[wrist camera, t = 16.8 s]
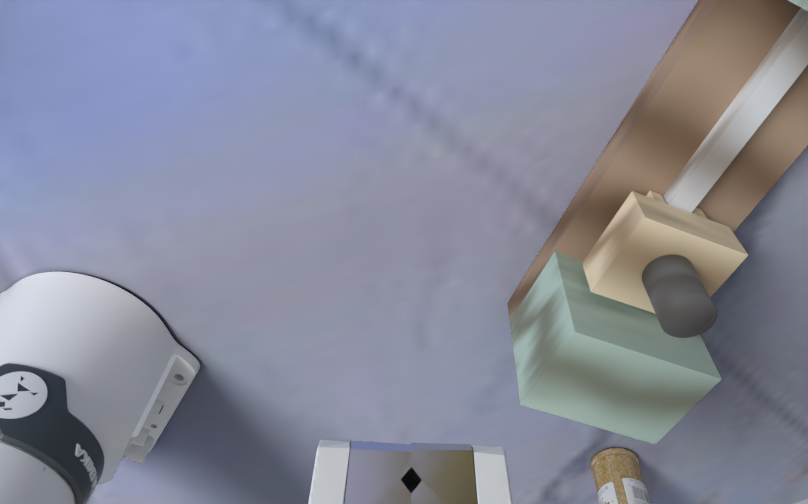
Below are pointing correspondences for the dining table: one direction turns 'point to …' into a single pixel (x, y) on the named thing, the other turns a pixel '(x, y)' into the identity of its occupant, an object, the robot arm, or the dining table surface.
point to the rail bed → (680, 187)
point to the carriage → (664, 262)
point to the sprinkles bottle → (618, 477)
